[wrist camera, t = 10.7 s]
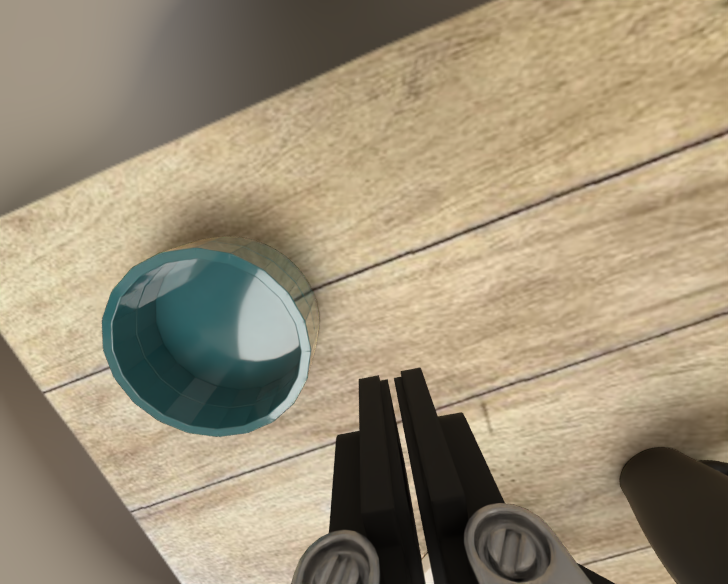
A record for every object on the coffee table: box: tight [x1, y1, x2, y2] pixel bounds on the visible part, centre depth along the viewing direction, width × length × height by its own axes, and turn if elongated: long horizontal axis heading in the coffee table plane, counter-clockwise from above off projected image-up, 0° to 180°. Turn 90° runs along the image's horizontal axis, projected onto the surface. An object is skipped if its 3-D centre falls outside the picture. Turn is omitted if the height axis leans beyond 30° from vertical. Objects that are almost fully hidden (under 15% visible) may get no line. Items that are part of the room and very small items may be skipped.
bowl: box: [102, 236, 319, 437], centre depth 22 cm, size 12×12×5 cm
